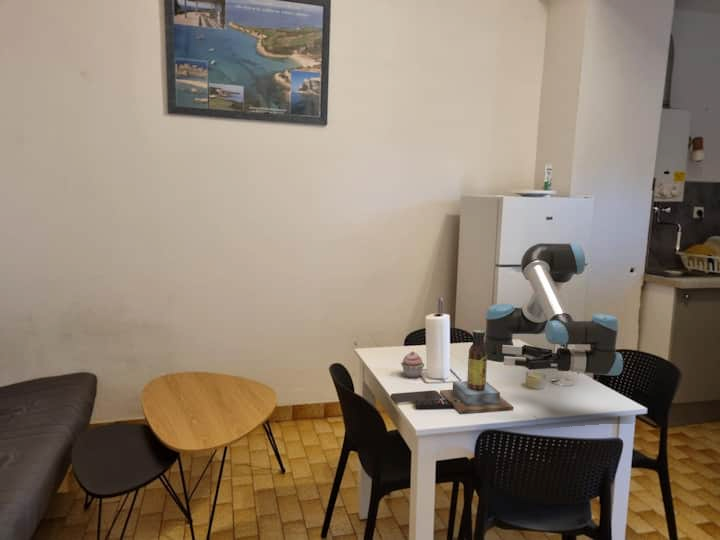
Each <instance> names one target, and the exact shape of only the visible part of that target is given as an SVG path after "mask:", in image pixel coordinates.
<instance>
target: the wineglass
mask: <svg viewBox="0 0 720 540" xmlns="http://www.w3.org/2000/svg"><path fill="white" fill-rule="evenodd" d="M558 348H567V349H570V350H571V349H576V344H569V345H559V344H553V349H552V353H557V349H558ZM560 372H561V374H560V375H561V376H560V378H558V377H557V378H553V379H551V383H553V384H554V385H556V386H561V387H570V386H572V385H573V382H572V381H571V380H568V379H565V378H564V372H565V371H560Z"/></svg>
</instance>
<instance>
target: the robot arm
mask: <svg viewBox="0 0 720 540" xmlns="http://www.w3.org/2000/svg"><path fill="white" fill-rule="evenodd" d="M585 267H586V256H585V252H584V250H583V247H582V246H581V245H579V244H576V243H570V242H569V243H546V242H545V243H542V242H541V243H536V244H533V245H532V246H530V247H529V248H528V249H527V250H525V252H524V254H523V255H522V258H521V262H520V269H521V273H522V275H523V277H524V279H525V280H527V281H529V284H530V286H531V288H532V290H533V293H532V295H531V297H530V298H529V300H527V301H526V302H524V303H523V304H522V305H521V307H515V305H513V304H512V303H497V304H496V303H495V304H492V305H490V306H489V307H488V308H487V310H486V315H485V319H486V320H485V321H486V323H485V336H484V346H485V349H486V352H487V360H489V361H493V362H495V361H496V362H503V366H511V367H523V368H524V367H525V368H526V369H527V370H545V369H554V370H557V371H558V372H562V371H564V372H569V371H570V372H571V373H576V374H578V375H580V373H583V374H592V375H601V376H602V375H604V376H619V375H621V373H622V371H623V368H624V362H623V361H624V358H623V355H622V354H621V352H617V350H616V347H617V346H616V345H617V338H618V332H619V331H618V328H619V323H618V318H617V317H615V316H614V315H610V314H604V313H597V314H594V315H592V318H591V320H574V318H572V316H571V314H570V311H569V310H568V307H567V305H566V303H565V302H564V299H563V297H562V296H561V293H560V290H561V288H563V285H564V284H565V283H568V282H570V281H571V279H572V278H573V276H574V275H577V276H578V275H581V274H583V272H584V270H585ZM541 334H542V335H543V334H545V339H546V341H547V342H548V343H549V344H551V345H554V344H559V345H569V344H575V345H585V346H586V345H589V349H582V348H581V349H579V348H575V349H571V350H570V349H567V348H558V349H557V353H554V352H553V349H552V348H542V347H536V346H533V345H532V346H531V345H528V344H523V345H522V346H520V345H519V346H518V345H514V342H513V336H514V335H541ZM516 355H518V356H519V355H520V356H525V357H516ZM527 356H529V357H527ZM530 357H532V358H530Z"/></svg>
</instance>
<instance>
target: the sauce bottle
mask: <svg viewBox="0 0 720 540" xmlns="http://www.w3.org/2000/svg"><path fill="white" fill-rule="evenodd" d="M485 337H486V330H485V331H484V330H482V329H473V330H472V344H471V346H470V347H469V348H468V349H469V350H468V359H467V376H466V377H467V380H466V381H467V382H468V384H467V385H468V387H469V388H471V389H475V390H481V389H484V388H485V384H486V382H487V363H488V359H487V352H486V349H485V346H484V341H485Z"/></svg>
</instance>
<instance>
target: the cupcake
mask: <svg viewBox="0 0 720 540" xmlns="http://www.w3.org/2000/svg"><path fill="white" fill-rule="evenodd" d="M402 359H403V360H402V362H400V364H401V367H402V370H403V376H405V377H406V376H407V377H406V378H409V379H411V378H412V379H416V378H419V377H420V376H421V375H422V372H423V369H424V367H425V364H424V362H423V359H422V358H421V356H420V354H419V353H418V352H415V351H414V350H412V351H410V352H409V353H408V354H405V355H404V358H402Z"/></svg>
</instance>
